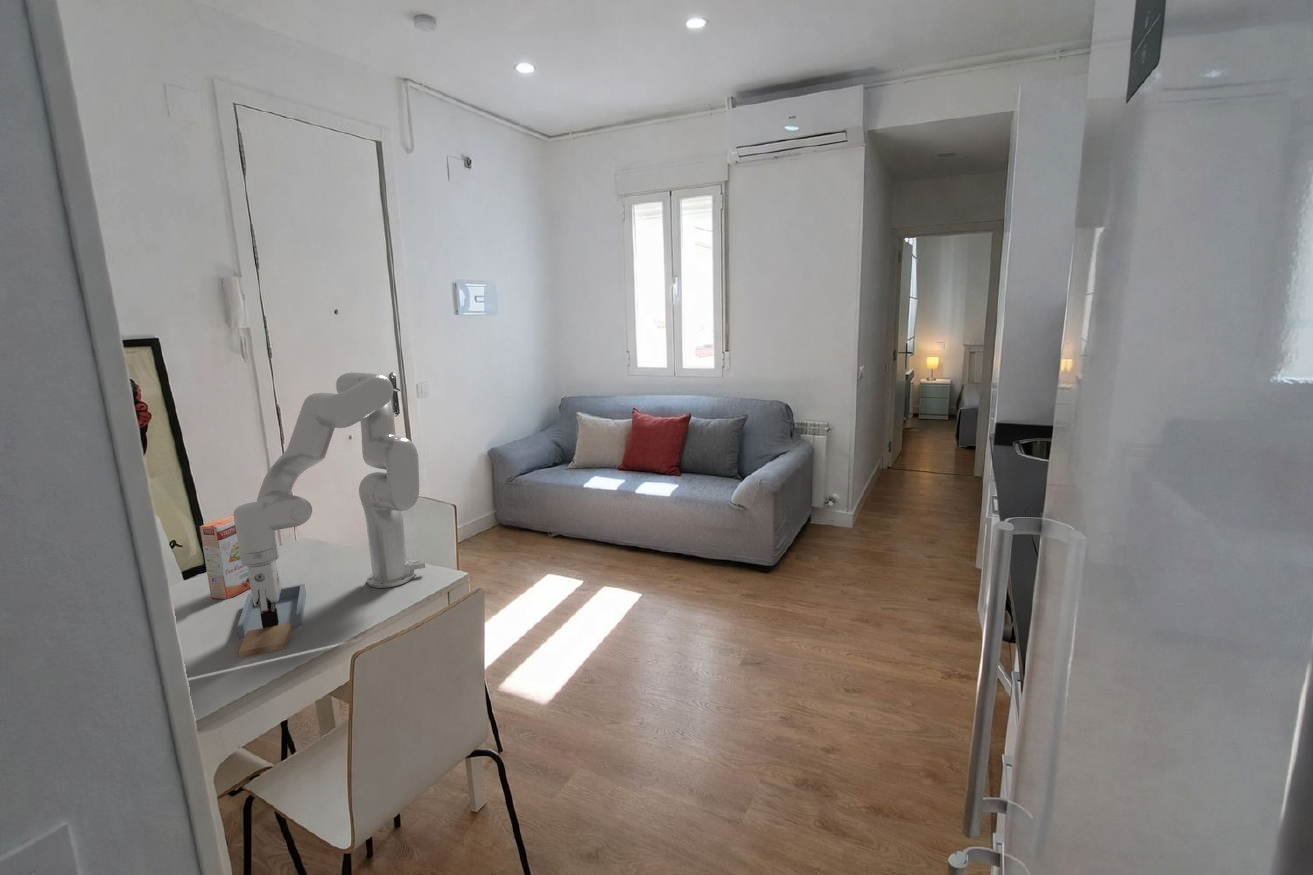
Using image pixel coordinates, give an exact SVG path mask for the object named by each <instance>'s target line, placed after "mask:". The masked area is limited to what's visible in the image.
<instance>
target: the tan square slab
mask: <svg viewBox="0 0 1313 875" xmlns="http://www.w3.org/2000/svg"><path fill="white" fill-rule="evenodd" d="M292 629H293V627H292V625H291V623H287V624H282V625H276V626H271V627H266V628H260V629H255V630H250V631H247V633H246V636H245V637H243V641H242V642H241V646H240V647H239V650H238V657H239V659H240V658H244V657H249V656H254V655H258V654H259V655H261V654H264V653H269V652H275V651H280V650H286V649H287V646H288V644H289V639H290V636H291V634H292Z"/></svg>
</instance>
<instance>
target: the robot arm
mask: <svg viewBox="0 0 1313 875" xmlns="http://www.w3.org/2000/svg"><path fill="white" fill-rule="evenodd" d="M335 389H336V391H337V393H333V392H332V393H331V392H315V393H312V394H310V395H308V396H307V397H306V398H304V401H303V402H302V405H301V408H300V411H299V415H298V417H297V419H296V422H295V425H294V428H293V431H292V434H291V436H290V439H289V442H288V445H287V448H286V450H284V452H283V453H282V454H281V455H280V456H279V457H278V459H277V460H276V461H275V462H274V463H273V465H272V466H271V467H270V468H269V470H268V471H267V473H266V475H265V476H264V478H263V481H262V484H261V485H260V486H261V487H260V490H259V492H258V495H257V499H256V501H253V502H248V503H243V504H241V505H239V506H237V507H235V509H234V510H233V513H232V514H233V515H234V522H235V528H236V534H237V539H238V545H239V552H240V558H241V564H242V565H243V566H246V567H248V574H249V581H250V594H252V599H253V603H254V605H255V606H258V603H259V607H260V612H261V613H260V615H261V621H262V627H263V628H266V627H271V626H276V625H278V623H279V620H278V614H277V608H275V607H276V604H275V603H277V602H278V600H279V597H280V593H281V588H282V584H281V579H280V573H279V570H278V564H277V560H278V559H279V558H280V554H279V547H278V542H277V540H278V539H277V535H276V531H278V530H279V531H280V530H285V529H286V530H287V529H291V528H296V527H299V526H300V527H301V526H302V525H304V524H306V522H308V521H309V520H310V519H311V517H312V513H313V507H312V505H311V503H310V501H308V500H307V499H306V498H303V497H301V496H298V495H295V494H294V495H293V494H291V493H292V490H293V487H294V485H295V483H296V481H297V480H298V478H299V477H300V476H301V475H302V474H303V473H304V472H306V470H308V469H310V468H312V467H313V466H315V465H317V464H319V463H321V462H323V460H325V458H326V455H327V452H328V450H329V446H330V444H331V441H332V437H333V434H334V432H335V429H345V428H348V427H350V426H353V425H355V424H357V423H358V422H360V428H361V450H362V459H363V461H364V463H365V464H366V465H368V466H369V467H371V468H374V469H375V468H376V469H378V470H379V469H380V470H385V471H386V472H383V471H375V472H371V473H369V474H366V476H364V477H363V479H362V480H361V481H360V484H359V485H358V486H359V487H358V493H359V494H358V496H359V500H360V502H361V506H362V508H363V512H364V517H365V523H366V531H367V540H368V541H367V542H368V548H369V557H370V564H371V574H369V575H368V577H367V578H366V582H367V585H368V586H370V587H372V588H375V589H376V588H377V589H379V588H380V589H382V588H383V589H384V588H393V587H397V586H400V585H403V584H407V583H409V581H411V580H412V579H413V578H414V577H415V570H422V569H425V568H426V563H425V561H420V560H413V561H412V560H409V558H408V555H407V545H406V544H407V543H406V535H405V527H404V526H405V524H404V517H403V513H402V512H404V511H408V510H410V509H412V508H414V506H415V505H416V503H417V502H418V499H419V495H420V467H419V466H420V465H419V453H418V450H417V447H416V445H415V444H414V442H412V441H411V440H410V439H408V438H407V437H404V436H397V433H396V424H395V414H394V412H393V409H392V406H391V405H390V403H389V402H390V401H391V400H392V398H393V396H394V386H393V383H392V381H391V380H390V378H388V377H386V376H385V375H383V374H378V373H370V372H369V373H365V372H346V373H343V374H341V375H339V377H338V378H337V379H336V383H335Z"/></svg>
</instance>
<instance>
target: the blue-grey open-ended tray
mask: <svg viewBox="0 0 1313 875" xmlns="http://www.w3.org/2000/svg"><path fill="white" fill-rule="evenodd" d="M306 591H307V590H306V585H305V583H302V584H301V583H300V584H295V585H290V586H284V587H281V593H280V597H279V600H278V602H277V603H275V604H276V607H275V608H277V614H278V620H279V623H278V625H282V624H287V623H291V625H292V628H294V627H298V626H303V624H304V623H303V622H304V615H305V607H306V606H305V605H306V597H307V592H306ZM260 613H261V612H260V607H259V603H258V606H255V605H254V603H253V599H252V594H251V593H248V594H247V595H246V599H245V602H244V605H243V608H242V611H241V613H240V617H239V619H238V622H237V627H236V628H237V631H238V637H239V638H238V639H241V638H245V636H246V633H247V631H250V630H255V629H260V628H263V627H262V621H261V615H260Z"/></svg>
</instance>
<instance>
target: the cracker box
mask: <svg viewBox="0 0 1313 875" xmlns="http://www.w3.org/2000/svg"><path fill="white" fill-rule="evenodd" d="M199 531H200V537H201V542H202V549H203V556H204V561H205V567H206V568H205V569H206V574H207V581H208V585H209V587H208V588H209V592H210V597H211V599H214V600H215V599H216V600H229V599H232V598H235V597H236V596H237V595H240V594H241V593H244V592H245V591H247V590H251V588H250V581H249V574H248V567H246V566H243V565H242V564H241V558H240V552H239V545H238V539H237V534H236V528H235V522H234V515H233V513H232V514H230V515H228V516H224V517H222V518H219V519H216V520H214V521H211V522H208V523H206V524H202V525H200V526H199Z"/></svg>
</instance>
